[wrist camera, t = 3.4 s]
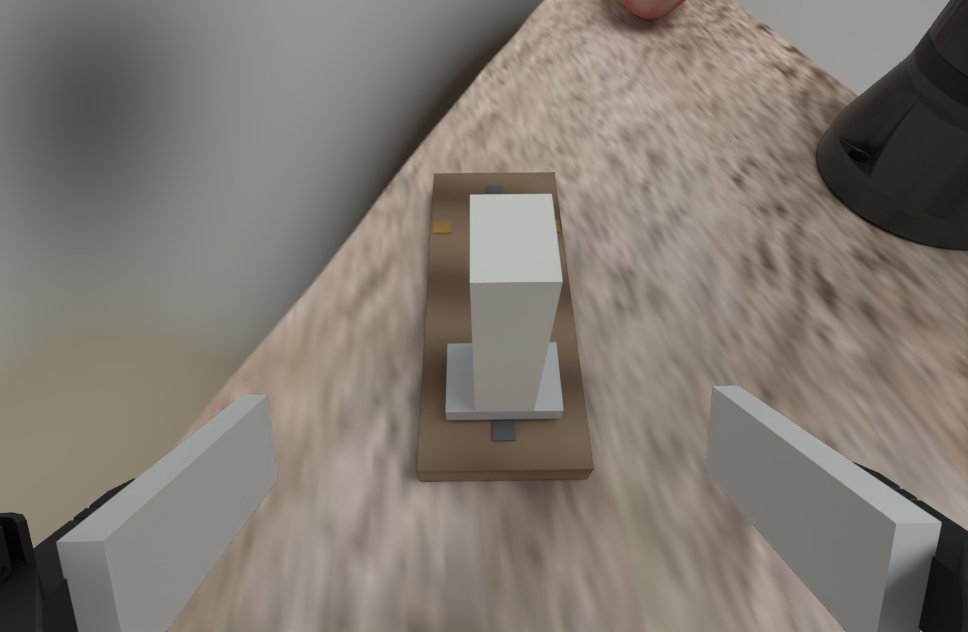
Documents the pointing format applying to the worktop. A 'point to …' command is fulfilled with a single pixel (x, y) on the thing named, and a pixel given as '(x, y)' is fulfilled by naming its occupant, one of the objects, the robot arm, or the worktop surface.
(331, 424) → the worktop surface
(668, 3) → the decorative fruit
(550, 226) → the block
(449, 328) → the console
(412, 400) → the worktop surface
